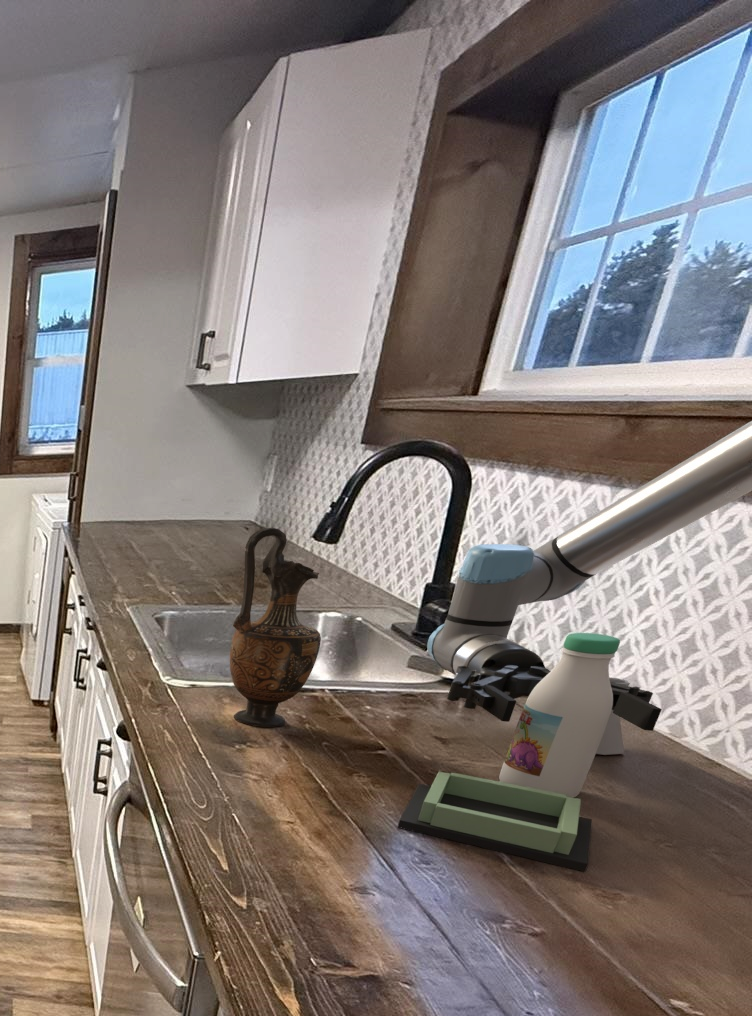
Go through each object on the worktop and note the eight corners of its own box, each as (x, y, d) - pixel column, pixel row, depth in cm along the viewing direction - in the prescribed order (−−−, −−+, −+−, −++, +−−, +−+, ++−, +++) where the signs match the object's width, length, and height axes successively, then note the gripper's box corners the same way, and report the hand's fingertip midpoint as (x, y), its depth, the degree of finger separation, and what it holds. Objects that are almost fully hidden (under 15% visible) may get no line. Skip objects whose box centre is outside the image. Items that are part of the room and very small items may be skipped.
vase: (311, 734, 126) (361, 533, 114) (219, 728, 130) (259, 533, 118) (288, 710, 136) (333, 523, 125) (204, 705, 140) (240, 523, 128)
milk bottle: (569, 782, 107) (628, 632, 99) (586, 805, 101) (650, 647, 93) (491, 772, 111) (542, 626, 103) (503, 793, 105) (559, 640, 97)
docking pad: (589, 826, 96) (600, 799, 95) (584, 872, 87) (597, 842, 86) (416, 790, 107) (424, 765, 105) (397, 827, 98) (405, 800, 96)
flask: (572, 755, 115) (599, 687, 111) (539, 737, 121) (563, 672, 118) (636, 758, 113) (665, 688, 109) (599, 739, 120) (625, 673, 116)
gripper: (600, 699, 115) (703, 753, 97) (386, 687, 123) (443, 735, 105) (621, 646, 112) (731, 692, 94) (400, 638, 120) (461, 679, 102)
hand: (579, 715), depth 99 cm, fingers open, 13 cm apart
